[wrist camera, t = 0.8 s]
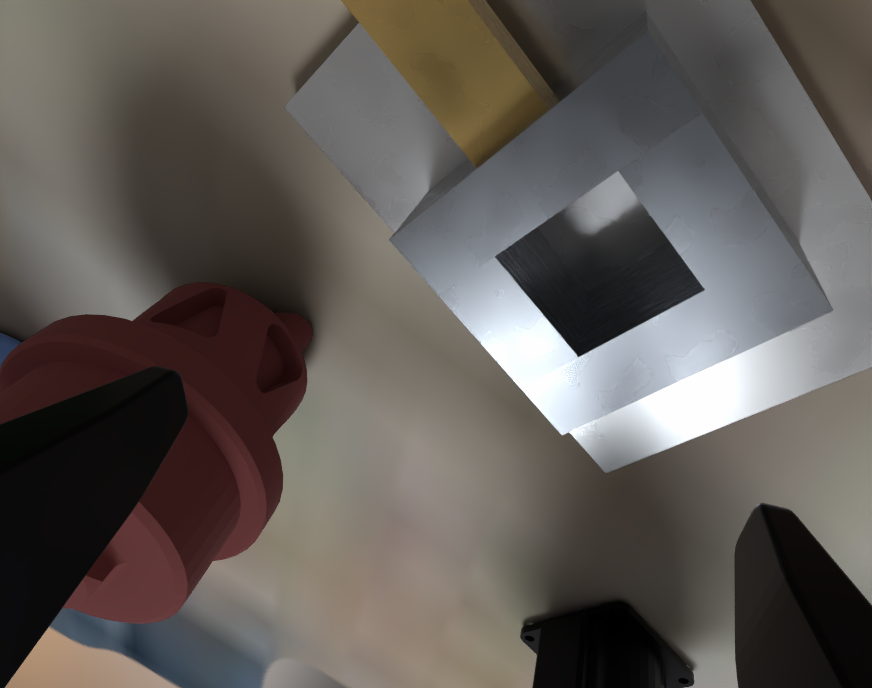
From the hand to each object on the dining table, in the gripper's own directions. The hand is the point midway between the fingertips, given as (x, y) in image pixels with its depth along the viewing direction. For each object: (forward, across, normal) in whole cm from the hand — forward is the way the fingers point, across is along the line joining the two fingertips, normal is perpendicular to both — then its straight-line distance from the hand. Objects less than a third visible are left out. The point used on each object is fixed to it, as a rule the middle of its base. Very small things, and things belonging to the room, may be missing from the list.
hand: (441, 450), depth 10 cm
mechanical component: (+14, +12, +9) cm, 20 cm away
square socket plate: (+13, -2, +1) cm, 13 cm away
